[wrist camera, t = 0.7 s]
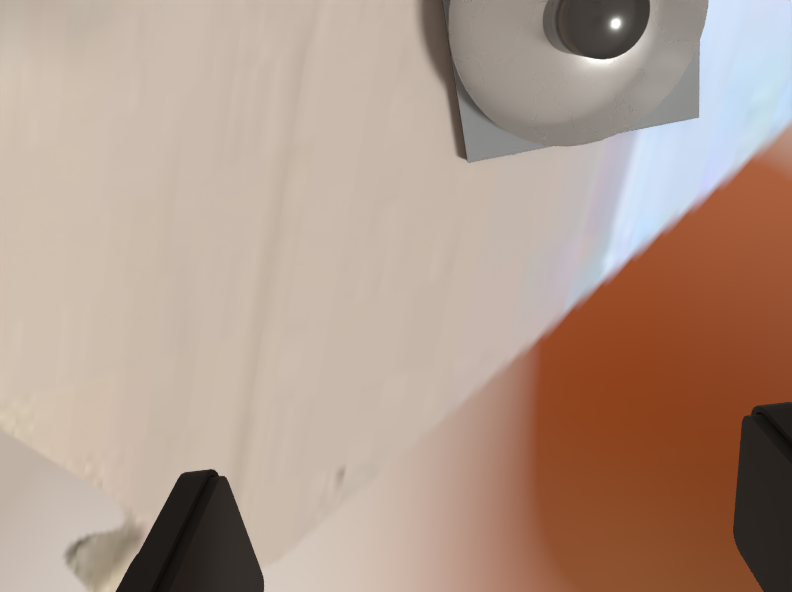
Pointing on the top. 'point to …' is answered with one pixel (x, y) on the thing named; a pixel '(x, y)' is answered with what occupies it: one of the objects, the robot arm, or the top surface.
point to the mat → (496, 142)
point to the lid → (572, 62)
